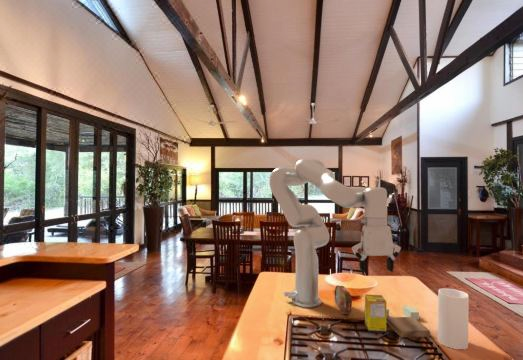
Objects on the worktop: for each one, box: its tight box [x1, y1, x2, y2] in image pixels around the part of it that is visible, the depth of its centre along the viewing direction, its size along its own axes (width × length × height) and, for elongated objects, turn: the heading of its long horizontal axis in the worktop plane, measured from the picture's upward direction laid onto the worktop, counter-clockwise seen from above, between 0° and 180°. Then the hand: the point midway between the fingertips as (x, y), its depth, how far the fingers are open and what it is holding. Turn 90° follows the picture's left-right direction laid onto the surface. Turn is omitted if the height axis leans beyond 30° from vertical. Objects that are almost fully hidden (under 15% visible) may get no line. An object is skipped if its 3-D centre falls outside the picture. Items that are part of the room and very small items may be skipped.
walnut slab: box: [386, 316, 431, 338], centre depth 105 cm, size 10×10×2 cm
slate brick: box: [386, 307, 390, 317], centre depth 115 cm, size 6×3×3 cm, turn 116°
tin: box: [334, 285, 353, 315], centre depth 121 cm, size 15×3×8 cm, turn 2°
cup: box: [437, 287, 470, 350], centre depth 97 cm, size 8×8×16 cm
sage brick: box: [402, 305, 420, 321], centre depth 116 cm, size 6×3×3 cm, turn 3°
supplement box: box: [364, 293, 387, 334], centre depth 106 cm, size 6×6×11 cm
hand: (376, 270), depth 107 cm, fingers open, 9 cm apart
